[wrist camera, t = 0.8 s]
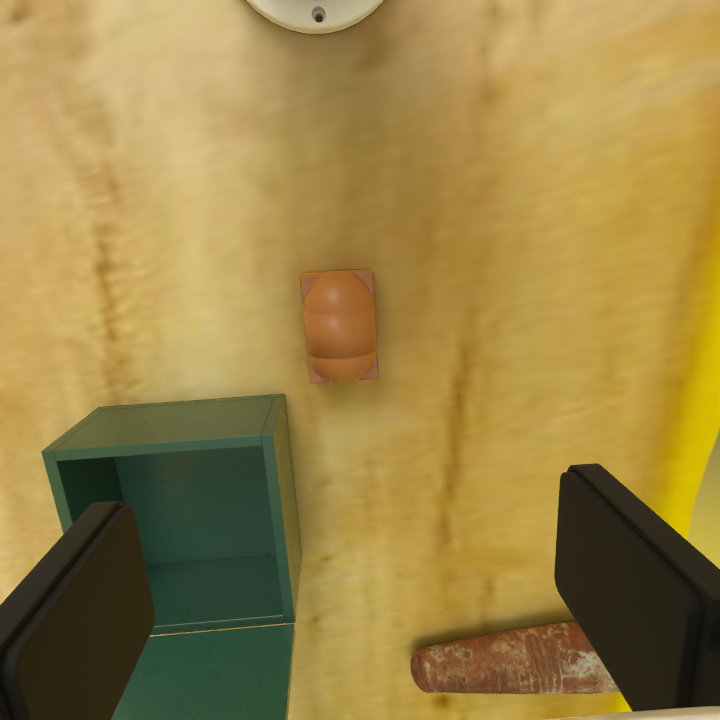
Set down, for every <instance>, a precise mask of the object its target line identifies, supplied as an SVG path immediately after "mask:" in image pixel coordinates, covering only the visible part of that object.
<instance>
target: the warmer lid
mask: <svg viewBox="0 0 720 720" xmlns="http://www.w3.org/2000/svg"><path fill="white" fill-rule="evenodd" d="M294 641H295V626H294V624H289V625H278V626H267V627H255V628H244V629H233V630H222V631H210V632H199V633H188V634H177V635H165V636H154V637H149V638H148V640H147V642H146V645H145V647H144V649H143V651H142V653H141V656H140V658H139V660H138V662H137V664H136V666H135V669H134V671H133V673H132V675H131V677H130V680H129V682H128V684H127V686H126V688H125V690H124V693H123V695H122V697H121V699H120V701H119V704H118V706H117V708H116V710H115V712H114V714H113V717H112V719H111V720H288V710H289V698H290V687H291V676H292V664H293V653H294Z"/></svg>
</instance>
